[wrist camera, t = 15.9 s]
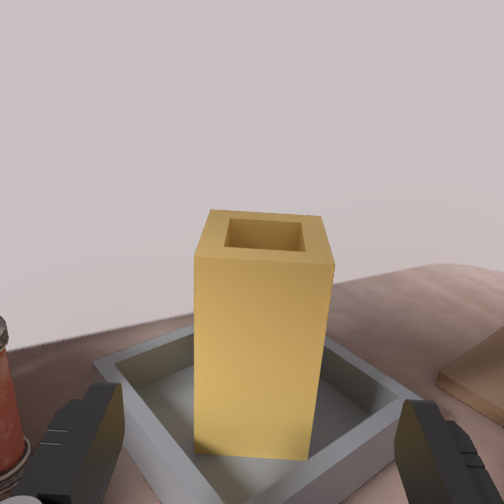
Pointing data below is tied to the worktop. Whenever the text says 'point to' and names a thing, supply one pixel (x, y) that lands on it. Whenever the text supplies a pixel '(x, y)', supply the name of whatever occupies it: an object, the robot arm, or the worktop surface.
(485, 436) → the worktop surface
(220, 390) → the yellow open box
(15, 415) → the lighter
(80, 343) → the worktop surface
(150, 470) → the tray
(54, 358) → the worktop surface
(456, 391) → the board
